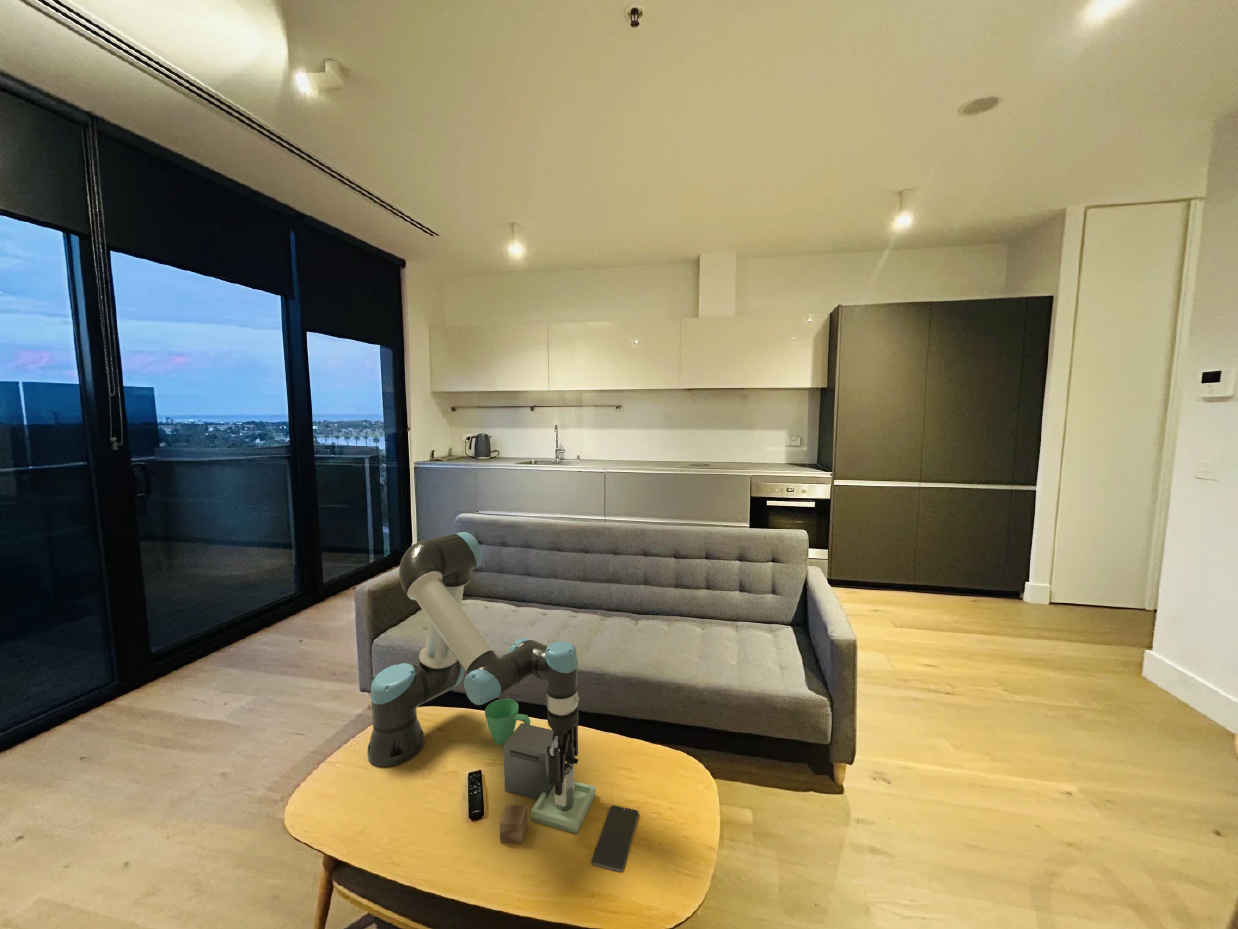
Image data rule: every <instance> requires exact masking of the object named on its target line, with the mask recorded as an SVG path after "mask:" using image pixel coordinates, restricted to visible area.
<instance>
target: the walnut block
mask: <svg viewBox="0 0 1238 929" xmlns="http://www.w3.org/2000/svg"><path fill="white" fill-rule="evenodd" d="M527 828H528V806H527V805H513V804H512V805H511V804H508V805H507V804H506V805H505V807H504V811H503V813H502V817H501V819H500V822H499V839H500V840H499V842H500V843H501V844H515V845H517V844H518V845H522V844H523V842H524V837H525V834H526V831H527Z"/></svg>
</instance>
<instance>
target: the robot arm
mask: <svg viewBox="0 0 1238 929" xmlns="http://www.w3.org/2000/svg"><path fill="white" fill-rule="evenodd" d="M482 562H483V552H482V548H481V546H480V544H479V542H478V540H477V538H476V537H475V536H473V534H472V533H469V532H466V531H462V532H453V533H451V534H446V535H443V536H439V537H434V538H430V539H423V540H421V541H417V542H415V543H414V544H412V545H411V546H410V547H408V549H407V550H406V551H405V553H404V554H403V556H402V558H401V560H400V564H399V568H398V569H399V570H398V576H399V582H400V585H401V587H402V589H403V591H404V594H406V596H407V597H408V598H409V599H410V600H413V601H416V602H417V604H418V605H419V606H420V608H421V610H422V611H423V612H424V614H425V615H426V617H427V618H428V626H427V634H426V639H425V640H426V641H425V646H424V647H423V648H422V649H421V650H420V652H419V655H418V662H417V663H415V664H411V663H406V662H404V663H399V664H393V665H391V666H388V667H386V668H384V669H382V670H381V671H380V672H379V673H377V674H376V676H375V677H374V678H373V680H372V682H371V685H370V696H369V698H370V702H371V716H372V732H371V735H370V740H369V743H368V746H367V760H368V762H370V764H371V765H373V766H376V767H380V768H381V767H382V768H383V767H385V768H387V767H394V766H398V765H400V764H403V763H405V762H407V761H409V760H411V759H412V758H414V757H415V756H416V755H417V754H419V752H421V751H422V749H423V747H424V745H425V733H424V730H423V729H422V726H421V724H420V722H419V719H418V715H417V711H418V710H417V709H418V707H419V706H421V705H423V704H425V703H428V702H429V701H431V700H434V699H436V698H437V697H439V696H442V695H443V694H445V693H448V692H449V691H451V690H453V688H456V687H457V686H458V685H459V684H460V683H461V682H462V680H463V678H464V676H465V673H466V676H465V678H464V681H463V682H464V684H463V686H464V687H463V688H464V690H465V692H466V696H467V698H468V699H469V701H470V702H471V703H472V704H474V705H477V706H481V705H485V704H486V703H488V702H490V701H492V700H493V701H494V700H495V699H497V698H499V696H500V695H503V694H504V693H505V692H507V691H509V690H510V689H512V688H513V687H516V686H517V685H519V684H521V683H523V682H524V681H526V680H527V679H529V678H531V677H534V678H535V677H536V678H537V679H540V680H543V681H545V683H546V708H547V710H546V712H547V717H546V718H547V725H548V727H549V729H550V730H553V738H552V740H553V744H552V746H551V747H550V746H548V747H547V754H548V764H549V784H552V785H554V788H555V804H558V805H561V806H566V779H564V769H565V763H566V764H569V765H571V766H572V767H573V786H574V789H575V781H576V780H575V779H576V778H575V777H576V776H575V765H577V764H578V762H579V759H578V758H576V757H578V755H579V731H578V730H579V720H580V718H579V706H578V705H579V700H580V696H578V688H579V686H578V665H579V661H578V653H577V647H576V646H575V645H574V644H573V643H572V642H570V641H567V640H566V641H562V640H560V641H559V640H558V641H554V642H552V643H550V644H549V645H546V644H543V643H541V642H538V641H537V640H534V639H529V638H526V637H523V638H522V637H521V638H518V639H516V640H515V641H514V643H513V644H512V645H511V646H510V647H509V649H508V652H507V653H506V654H504V655H502V656H500V657H499V656H498V655H497V654H496V652H495V651H494V650H493V649H492V647H491V645H489V643H488V642H487V640H486V639H485V638H484V636H483V635H482V634H481V633H480V631H479V630H478V628H477V627H476V625H475V624H474V623H473V621H472V619H470V617H469V616H468V614H466V612H465V611H464V609H463V608H462V603H463V602H462V601H463V597H464V596H463V594H464V591H465V589H464V588H465V585H468V583H470V581H471V577H472V572H473V570H477V569H478V568H479V567H480V566H481V564H482Z"/></svg>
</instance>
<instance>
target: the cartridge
mask: <svg viewBox="0 0 1238 929" xmlns="http://www.w3.org/2000/svg"><path fill="white" fill-rule="evenodd" d="M566 763H567V762H565V769H564V779H566V806H561V805H558V804H556V807H557V809H558V810H560V811H568V810H570V809H571V808H572V807H573V805H574V786H573V767H572V766H571V765H569V764H566Z"/></svg>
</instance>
